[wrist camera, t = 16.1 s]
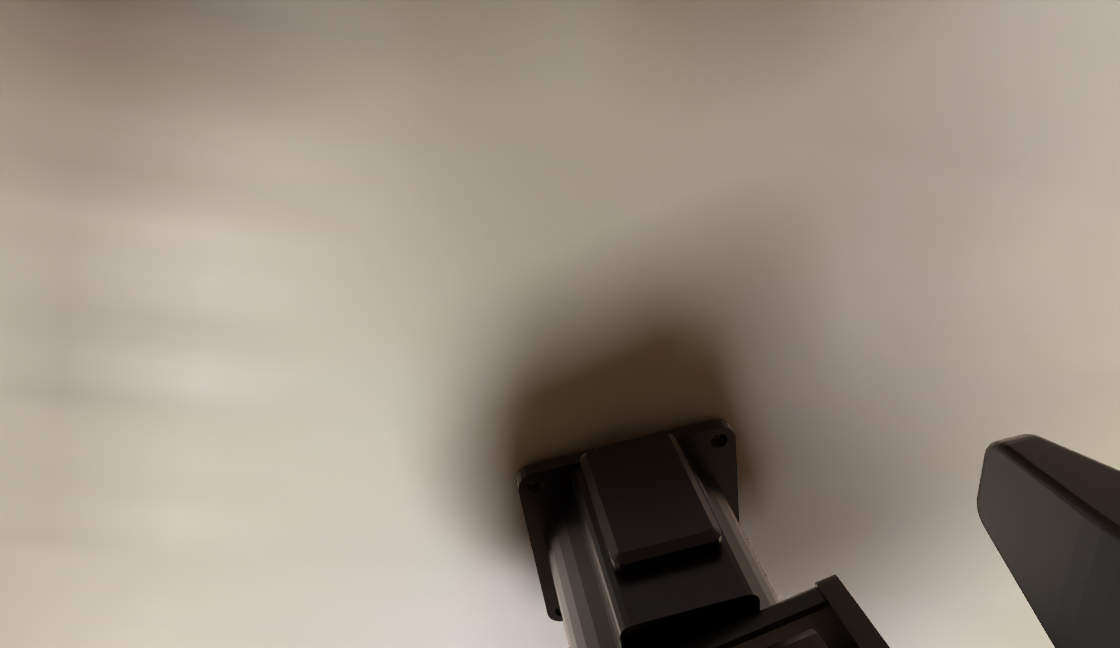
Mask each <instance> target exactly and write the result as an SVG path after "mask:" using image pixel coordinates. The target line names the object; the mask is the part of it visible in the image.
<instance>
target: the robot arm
mask: <svg viewBox="0 0 1120 648" xmlns="http://www.w3.org/2000/svg"><path fill="white" fill-rule="evenodd" d="M718 434H721V436H720V437H719V438H716V439H712V438H713V437H714V436H716V435H718ZM532 480H540V481H539V482H537V483H535V484H530V483H529V482H530V481H532ZM517 486H518V490H519V495H520V499H521V503H522V507H523V511H524V516H525V520H526V524H527V528H528V533H529V537H530V541H531V545H532V550H533V554H534V558H535V562H536V566H537V571H538V575H539V579H540V583H541V588H542V592H543V596H544V600H545V604H546V609H547V613H548V616H549V617H550V618H551V619H552V620H555V621H563V622H564V626H565V630H566V635H567V639H568V643H569V647H570V648H890V647H889V646H888V645H887V643H886V642H885V641H884V639H883V638H882V637H881V635H880V634H879V633H878V631H877V630H876V628H875V627H874V626H873V624H872V623H871V622H870V620H869V619H868V618H867V616H866V615H865V614H864V612H863V611H862V609H861V608H860V607H859V605H858V604H857V603H856V601H855V600H854V599H853V597H852V596H851V595H850V593H849V592H848V591H847V589H846V588H845V586H844V585H843V584H842V582H841V581H840V580H839V578H838V577H837V576H836V575H833V576H830V577H828V578H826V579H823V580H821V581H818V582H816V583H815V585H816V587H814V588H812V589H809V590H807V591H805V592H802V593H800V594H798V595H795V596H793V597H791V598H788V599H786V600H783V601H781V602H779V600H778V598H777V596H776V594H775V592H774V590H773V588H772V586H771V584H770V583H769V581H768V579H767V577H766V575H765V573H764V571H763V569H762V567H761V565H760V563H759V561H758V559H757V558H756V556H755V554H754V552H753V550H752V548H751V546H750V544H749V542H748V540H747V538H746V536H745V534H744V533H743V531H742V529H741V527H740V525H739V510H738V487H737V463H736V439H735V434H734V432H733V430H732V428H731V427H730V425H729V424H728V423H727V422H726V421H725V420H721V419H715V420H710V421H706V422H702V423H698V424H694V425H689V426H685V427H681V428H677V429H673V430H669V431H665V432H661V433H657V434H653V435H648V436H644V437H640V438H636V439H632V440H628V441H624V442H620V443H616V444H612V445H608V446H603V447H599V448H595V449H591V450H587V451H583V452H579V453H575V454H571V455H567V456H562V457H558V458H554V459H550V460H546V461H542V462H538V463H534V464H530V465H528V466H525V467H523V468H522V469H521V470H520V471H519V473H518V474H517ZM977 508H978V513H979V516H980V519H981V521H982V523H983V525H984V527H985V529H986V531H987V532H988V534H989V536H990V538H991V539H992V541H993V543H994V544H995V546H996V548H997V550H998V551H999V553H1000V555H1001V556H1002V558H1003V560H1004V561H1005V563H1006V565H1007V567H1008V568H1009V570H1010V572H1011V573H1012V575H1013V577H1014V579H1015V580H1016V582H1017V584H1018V585H1019V587H1020V589H1021V590H1022V592H1023V594H1024V596H1025V597H1026V599H1027V601H1028V602H1029V604H1030V606H1031V608H1032V609H1033V611H1034V613H1035V614H1036V616H1037V618H1038V619H1039V621H1040V623H1041V625H1042V626H1043V628H1044V630H1045V631H1046V633H1047V635H1048V637H1049V638H1050V640H1051V641H1052V643H1053V645H1054V646H1055V648H1120V471H1119V470H1117V469H1114V468H1112V467H1110V466H1107V465H1105V464H1103V463H1100V462H1098V461H1096V460H1093V459H1091V458H1089V457H1086V456H1084V455H1081V454H1079V453H1077V452H1074V451H1072V450H1070V449H1067V448H1065V447H1063V446H1060V445H1058V444H1056V443H1053V442H1051V441H1049V440H1046V439H1044V438H1042V437H1039V436H1036V435H1032V434H1023V435H1018V436H1014V437H1010V438H1006V439H1002V440H998V441H995V442H993V443H991V444H990V445H989V446H988V448H987V449H986V451H985V455H984V461H983V467H982V473H981V478H980V484H979V490H978V496H977Z"/></svg>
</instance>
